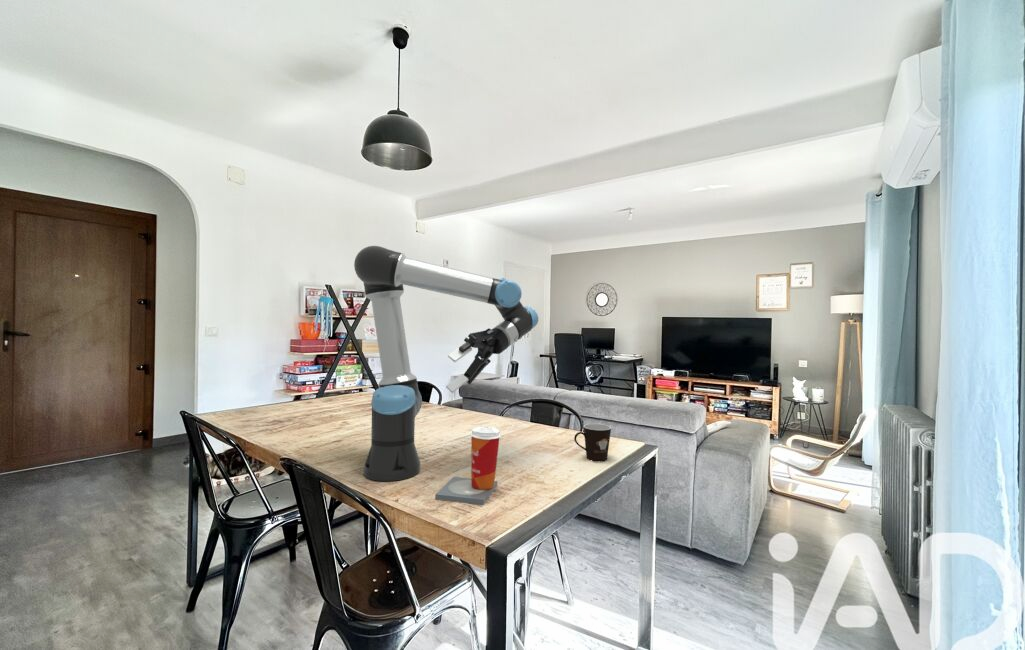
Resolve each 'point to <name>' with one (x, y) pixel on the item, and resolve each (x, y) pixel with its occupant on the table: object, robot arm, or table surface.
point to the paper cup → (484, 457)
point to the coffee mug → (596, 441)
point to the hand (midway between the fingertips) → (450, 374)
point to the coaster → (463, 492)
